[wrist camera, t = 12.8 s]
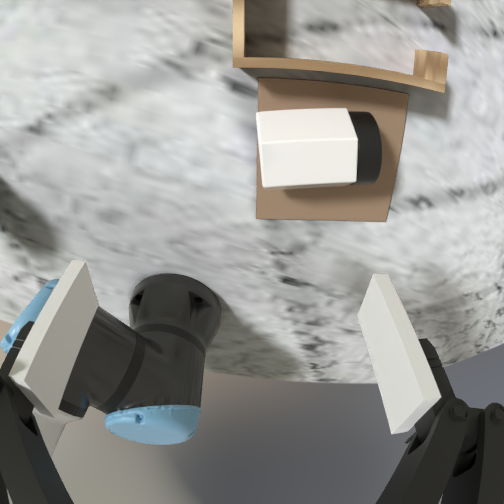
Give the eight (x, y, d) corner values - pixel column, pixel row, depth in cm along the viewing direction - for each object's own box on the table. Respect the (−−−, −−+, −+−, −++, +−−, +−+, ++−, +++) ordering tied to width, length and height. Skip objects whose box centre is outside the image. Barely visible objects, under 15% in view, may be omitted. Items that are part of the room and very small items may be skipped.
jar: (261, 176, 38) (357, 171, 38) (264, 208, 32) (379, 201, 31) (255, 105, 33) (359, 101, 33) (256, 120, 27) (385, 117, 26)
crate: (419, 84, 31) (444, 93, 26) (235, 65, 31) (232, 67, 26) (424, -23, 22) (449, -29, 17) (236, -52, 22) (234, -70, 17)
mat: (384, 220, 42) (385, 221, 42) (256, 217, 42) (256, 218, 42) (407, 93, 32) (408, 94, 32) (258, 78, 32) (258, 78, 31)
